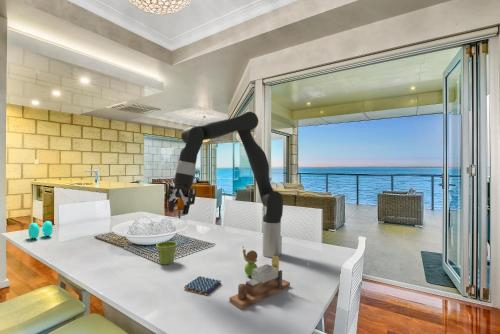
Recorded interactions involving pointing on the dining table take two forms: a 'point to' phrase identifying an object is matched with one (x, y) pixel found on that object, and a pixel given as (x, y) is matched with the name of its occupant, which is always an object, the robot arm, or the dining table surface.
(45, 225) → the turquoise egg pair
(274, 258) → the lever
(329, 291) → the dining table surface
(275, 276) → the grey rough lump
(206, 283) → the woven mat
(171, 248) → the plant pot
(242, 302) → the plane body
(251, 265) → the green toy figurine
